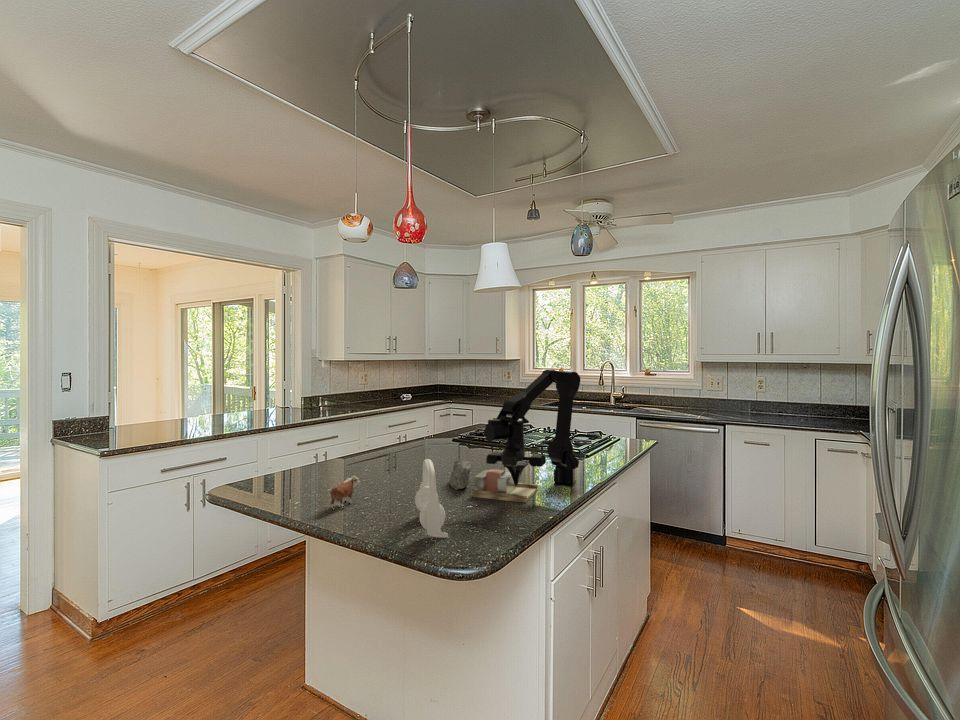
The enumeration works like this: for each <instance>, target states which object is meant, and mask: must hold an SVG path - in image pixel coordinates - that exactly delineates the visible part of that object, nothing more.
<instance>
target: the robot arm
mask: <svg viewBox="0 0 960 720" xmlns="http://www.w3.org/2000/svg"><path fill="white" fill-rule="evenodd" d="M553 383H554V384H555V389H556V392H557V394H558V405H557V416H556V426H555V433H554V434H555V436H554V438H553V439H552V440H549V441H548V442H547V444H548V445H547V451H546V452H547V454H548V455H547V456H548V458H549V459H550V462H551V465H552V466H554V470H553V482H554V483H553V485H554V486H562V485H564V487H574V486H575V484H576V479H575V477H576V476H575V475H576V473H575V469H578V468H579V465H580V460H578V458H577V457H576V456H575V454H574V447H573V446H574V445H573V444H572V442H571V439H570V436H571V435H570V434H571V425H572V414H573V405H574V397H575V396H576V395H577V393H578V392H579V389H580V385H581V376H580V374H579V373H578V372H577V371H567V370H565V371H564V370H561V371H558V370H555V369H545V370H543V371H542V372H541V374H540V375H539V376H537V377H536V378H535V379H534V380H533V381H532V382H531V383H530V384H529V385H527V386H526V388H524V389H523V390H522V391H521V392H520V393H518V394H515V395H512V396H511V397H509V398H508V399H506V400H505V401H504V402H503V404H502V407H501V410H500V411H499V413H498V415H497V417H496V419H488V420H487V424H486V425H485V426H484V430H483V432H484V433H483V434H484V436H485V439H486V440H487V442H497V441H504V440H506V442H505V445H504V449H503V451H502V452H496V451H492V452H491V453H488V454H487V455H486V458H485V461H486V462H485V463H486V464H488V465H489V464H490V465H495V464H497V463H498V462H501V465H502V466H503V468H506V469H507V470H508V472H510V474H511V476H512V479H513V481H514V484H515V486H517V485H518V483H520V479H521V476H522V474H523V471H524V469H525V468H526V467H528V465H530V466H531V467H535V468H536V467H539V468H540V467H543V466H544V465H545V464H546V456H545V455H544V454H538V453H537V454H535V453H533V454H532V455H531V456H526V452H525V442H526V439H525V432H524V427H525V426H524V424H529V423H530V421H529V420H528V419H527V418H526V417H525V416H526V415H527V413H528V412H529V410H531V409H530V408H531V405H532V403H533V402H534V401H535V400H537V398H538V397H539V396H541V395H542V393H544V392H545V390H547V389H548V388H549V387H550V386H551V385H552V384H553ZM574 483H575V484H574Z"/></svg>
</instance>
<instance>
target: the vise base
mask: <svg viewBox="0 0 960 720" xmlns="http://www.w3.org/2000/svg"><path fill="white" fill-rule="evenodd" d="M489 470H490V469H485V470H483V471H481V472H480V473H478V474H476V475H475V476H474V489H473V490H472V491H471V495H472V498H480V499H488V500H496V501H497V500H498V501H508V502H517V503H527V502H528V501H529V500H530V499H531V498H532V497H533V495H535V494H536V493H537V492H538V490H539V489H538V486H539V485H538V484H536V483H525V482H518V485H517V486H516V487H515V488H514V489H513V490H512V491H511V492H510V493H499V492H493V491H486V472H488V471H489Z"/></svg>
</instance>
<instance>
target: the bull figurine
mask: <svg viewBox="0 0 960 720" xmlns="http://www.w3.org/2000/svg"><path fill="white" fill-rule="evenodd" d="M360 484H361V481H360V480H359V477H357V476H356V475H352V476H348V477H347V478H346V479H345V480H344V481H342V483H340V484H338V485H337V486H334V487H333V488H331V491H330V498H331V501H330V505H331V507H333V506H334V504H335V503H336V504H337V506H338V507H339V508H341V506H344V504H343V503H344V500H347V498H348V500H347V501H348V502H351V503H352V496H353V493H354V489H355V487H356V486H357V485H360ZM348 502H347V503H348ZM331 507H330V508H331ZM334 507H335V506H334ZM344 507H345V506H344Z"/></svg>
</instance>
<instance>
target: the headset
mask: <svg viewBox="0 0 960 720" xmlns="http://www.w3.org/2000/svg"><path fill="white" fill-rule="evenodd" d="M435 472H436V471H435V466H434V463H433V461H432V460H431V459H429V458H426V459H423V463H422V479H421V481H422V482H421V483H420V484H419V489H418V490H417V491H416V494H415V497H414V503H415V507H416V509H417V510H419V511H420V513H419V522H420V523H419V524H421V526H422V528H424V529H425V530H426V533H427V536H429V537H434V538H442V539H444V538H448V537H449V534H448V533H447V532H443V531H442V529H441V527H442V526H443V525H444V524H445V520H446V509H445V508H444V506H443V505H442V504H441V503H440V502H439V494H438V491H437V481H436V480H437V479H436V473H435Z"/></svg>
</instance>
